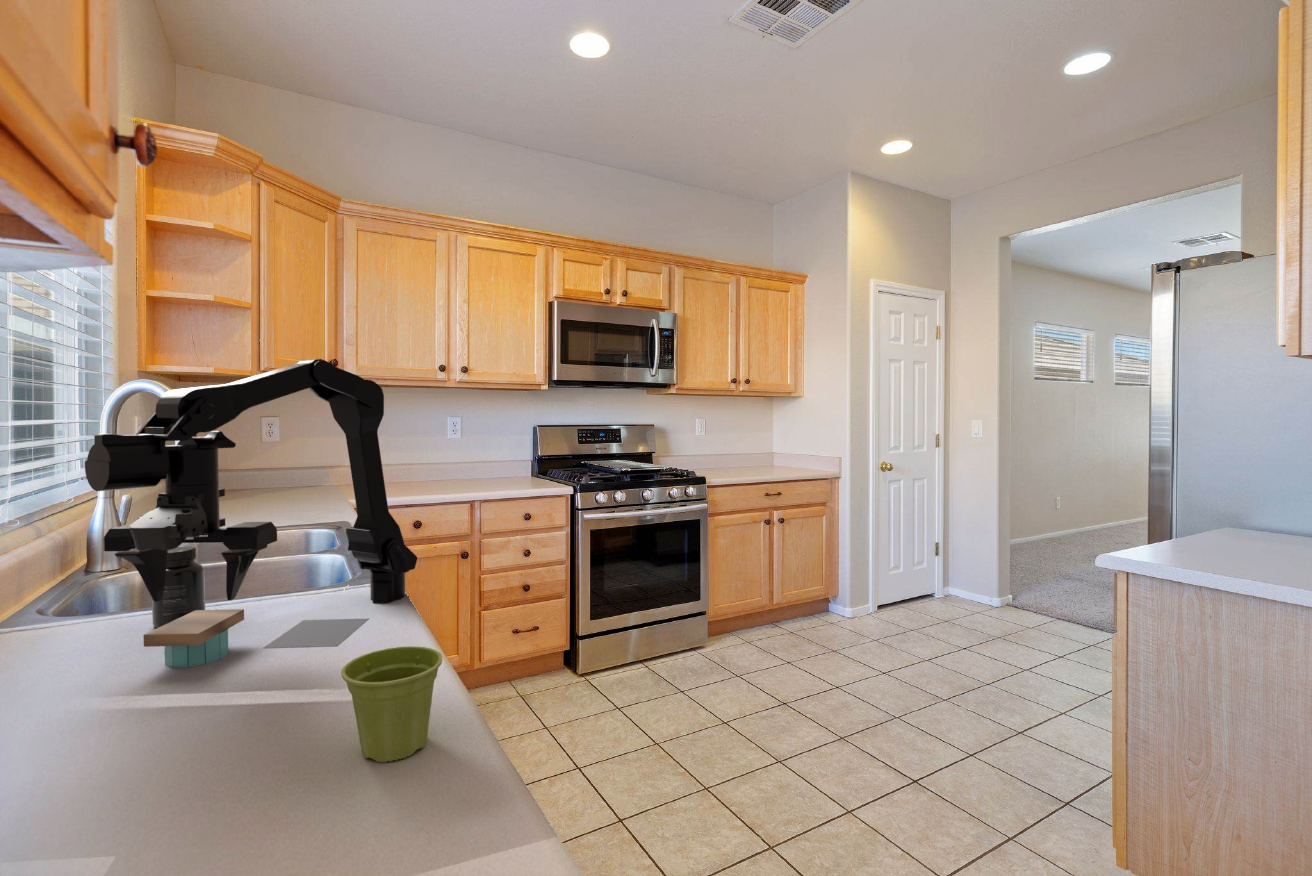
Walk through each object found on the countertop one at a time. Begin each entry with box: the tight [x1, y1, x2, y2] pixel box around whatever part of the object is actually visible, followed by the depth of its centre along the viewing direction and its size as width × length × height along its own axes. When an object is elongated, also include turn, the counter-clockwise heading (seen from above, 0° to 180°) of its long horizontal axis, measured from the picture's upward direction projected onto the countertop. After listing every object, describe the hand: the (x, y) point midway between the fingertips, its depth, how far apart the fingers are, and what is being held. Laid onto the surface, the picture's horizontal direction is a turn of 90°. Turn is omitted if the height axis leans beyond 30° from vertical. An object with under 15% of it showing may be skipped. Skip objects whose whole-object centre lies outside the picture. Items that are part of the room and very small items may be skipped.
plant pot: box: [340, 645, 443, 763], centre depth 63 cm, size 9×9×9 cm
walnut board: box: [143, 608, 245, 648], centre depth 84 cm, size 10×6×2 cm, turn 5°
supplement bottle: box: [151, 546, 206, 629], centre depth 101 cm, size 7×7×12 cm
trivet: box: [262, 618, 369, 649], centre depth 93 cm, size 12×10×1 cm
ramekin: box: [164, 628, 229, 668], centre depth 84 cm, size 7×7×4 cm
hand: (194, 600), depth 83 cm, fingers open, 9 cm apart
